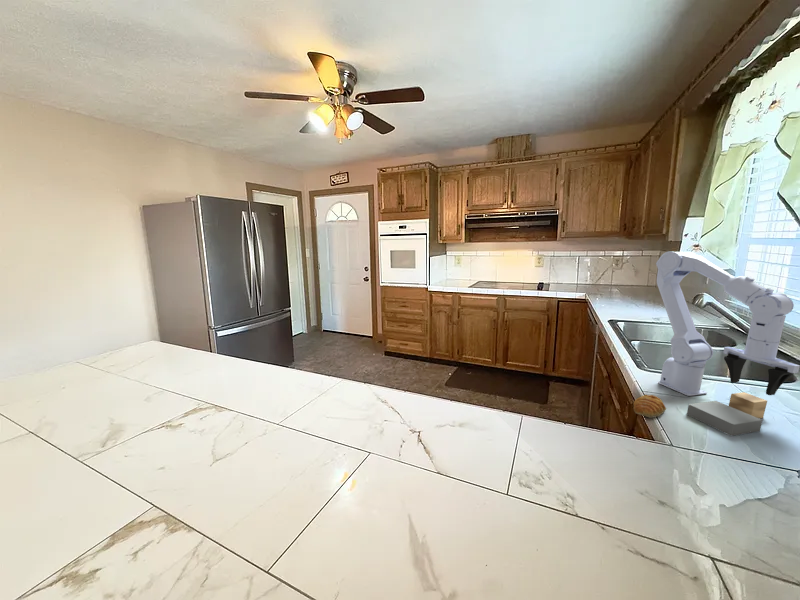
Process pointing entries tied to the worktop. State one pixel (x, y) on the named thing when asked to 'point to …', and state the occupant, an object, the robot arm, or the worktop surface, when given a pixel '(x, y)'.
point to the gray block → (724, 418)
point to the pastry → (649, 406)
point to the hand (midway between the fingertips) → (751, 388)
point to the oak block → (748, 404)
